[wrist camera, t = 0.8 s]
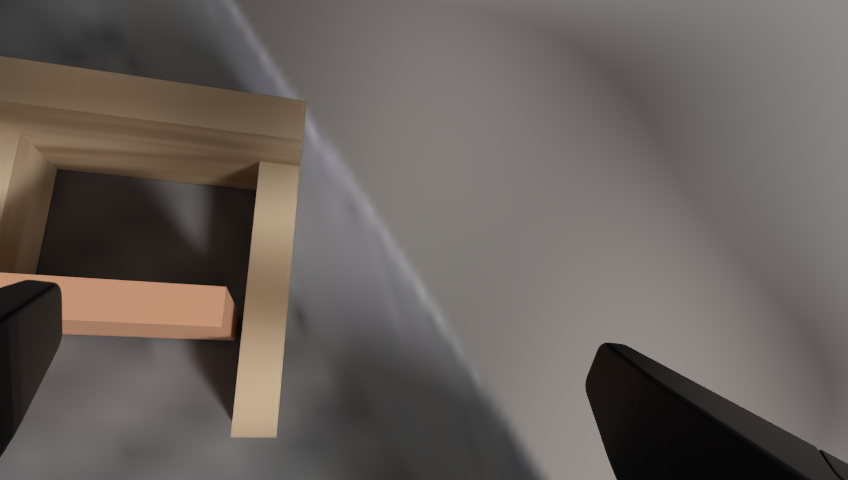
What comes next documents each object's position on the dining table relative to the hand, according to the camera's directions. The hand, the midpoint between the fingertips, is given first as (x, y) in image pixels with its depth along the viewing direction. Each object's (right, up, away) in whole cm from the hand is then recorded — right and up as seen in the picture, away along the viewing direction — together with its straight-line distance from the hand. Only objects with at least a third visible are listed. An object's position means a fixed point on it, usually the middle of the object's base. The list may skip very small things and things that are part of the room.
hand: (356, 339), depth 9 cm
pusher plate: (-10, -2, +12) cm, 16 cm away
